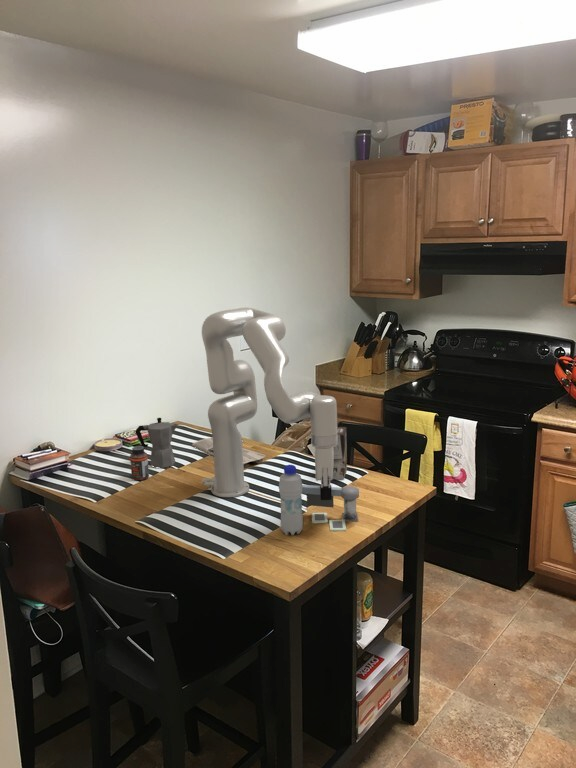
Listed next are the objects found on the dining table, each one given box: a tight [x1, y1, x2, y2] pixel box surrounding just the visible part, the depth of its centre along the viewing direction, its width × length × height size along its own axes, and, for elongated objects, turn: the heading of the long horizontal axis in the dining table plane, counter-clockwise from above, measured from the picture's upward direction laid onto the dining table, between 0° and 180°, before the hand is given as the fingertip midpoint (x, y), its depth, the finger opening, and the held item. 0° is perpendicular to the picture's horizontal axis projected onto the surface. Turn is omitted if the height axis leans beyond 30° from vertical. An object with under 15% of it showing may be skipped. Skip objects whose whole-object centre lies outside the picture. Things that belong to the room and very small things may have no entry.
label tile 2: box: [328, 519, 347, 532], centre depth 179 cm, size 4×6×1 cm
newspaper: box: [191, 437, 267, 468], centre depth 240 cm, size 35×12×4 cm, turn 39°
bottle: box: [278, 464, 304, 536], centre depth 174 cm, size 7×7×20 cm
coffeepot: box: [135, 417, 179, 469], centre depth 229 cm, size 15×9×18 cm, turn 103°
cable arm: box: [302, 484, 360, 508], centre depth 184 cm, size 21×5×6 cm, turn 75°
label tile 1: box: [311, 512, 329, 524], centre depth 184 cm, size 4×6×1 cm
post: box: [341, 498, 359, 522], centre depth 183 cm, size 4×4×7 cm
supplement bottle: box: [129, 445, 150, 481], centre depth 217 cm, size 6×6×11 cm
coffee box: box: [332, 426, 348, 480], centre depth 215 cm, size 9×6×16 cm
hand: (326, 498), depth 181 cm, fingers closed
